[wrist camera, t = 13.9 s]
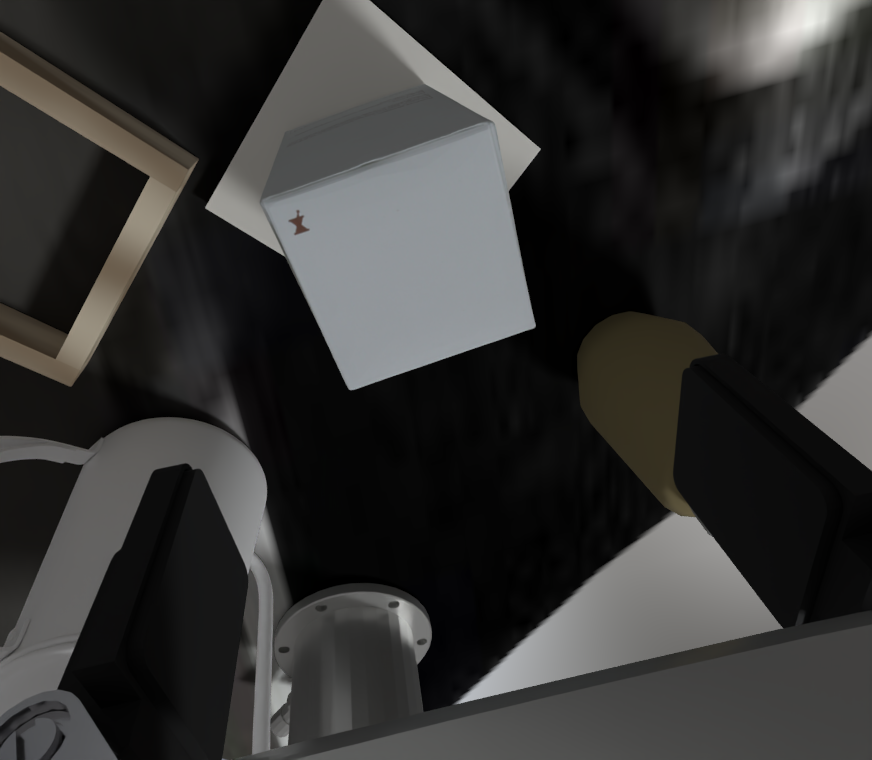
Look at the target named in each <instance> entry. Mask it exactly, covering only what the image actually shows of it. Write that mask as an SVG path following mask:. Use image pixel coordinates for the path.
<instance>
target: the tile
mask: <svg viewBox="0 0 872 760" xmlns="http://www.w3.org/2000/svg"><path fill="white" fill-rule="evenodd" d="M422 84H426V85H428V86H430V87H431V88H433V89H435V90H437V91H438V92H440V93H442V94H444V95H446V96H447V97H449V98H451V99H453V100H454V101H456V102H458V103H460V104H461V105H463V106H465V107H467V108H469V109H470V110H472V111H474V112H476V113H477V114H479V115H481V116H483V117H485V118H487V119H489V120H491V121H493V122H494V124H495V126H496V130H497V136H498V141H499V146H500V151H501V156H502V161H503V166H504V171H505V176H506V181H507V187H508V191H509V190H510V189H511V187H512V186H513V185H514V183H515V182H516V181H517V179H518V178H519V177H520V176H521V174H522V173H523V172H524V170H525V169H526V168H527V166H528V165H529V164H530V162H531V161H532V160H533V159H534V157H535V156H536V155H537V153H538V152H539V151H540V148H539V147H538V146H536V145H535V144H534V143H533V142H532V141H531V140H530V139H528V138H527V137H526V136H525V135H524V134H523V133H521V132H520V131H519V130H518V129H517V128H516V127H515V126H513V125H512V124H511V123H510V122H509V121H508V120H507V119H505V118H504V117H503V116H502V115H501V114H500V113H498V112H497V111H496V110H495V109H494V108H493V107H492V106H490V105H489V104H488V103H487V102H486V101H485V100H484V99H482V98H481V97H480V96H479V95H478V94H477V93H475V92H474V91H473V90H472V89H471V88H470V87H469V86H467V85H466V84H465V83H464V82H463V81H462V80H461V79H459V78H458V77H457V76H456V75H455V74H454V73H452V72H451V71H450V70H449V69H448V68H447V67H446V66H444V65H443V64H442V63H441V62H440V61H439V60H437V59H436V58H435V57H434V56H433V55H432V54H431V53H429V52H428V51H427V50H426V49H425V48H424V47H423V46H421V45H420V44H419V43H418V42H417V41H416V40H414V39H413V38H412V37H411V36H410V35H409V34H408V33H406V32H405V31H404V30H403V29H402V28H401V27H400V26H398V25H397V24H396V23H395V22H394V21H393V20H391V19H390V18H389V17H388V16H387V15H386V14H385V13H383V12H382V11H381V10H380V9H379V8H378V7H377V6H375V5H374V4H373V3H372V2H371V1H370V0H323V1H322V2H321V4H320V6H319V8H318V9H317V11H316V13H315V15H314V16H313V18H312V20H311V22H310V24H309V25H308V27H307V29H306V31H305V32H304V34H303V36H302V38H301V39H300V41H299V43H298V45H297V46H296V48H295V50H294V52H293V54H292V55H291V57H290V59H289V61H288V62H287V64H286V66H285V68H284V69H283V71H282V73H281V75H280V77H279V78H278V80H277V82H276V84H275V85H274V87H273V89H272V91H271V92H270V94H269V96H268V98H267V100H266V101H265V103H264V105H263V107H262V108H261V110H260V112H259V114H258V115H257V117H256V119H255V121H254V122H253V124H252V126H251V128H250V130H249V131H248V133H247V135H246V137H245V138H244V140H243V142H242V144H241V145H240V147H239V149H238V151H237V153H236V154H235V156H234V158H233V160H232V161H231V163H230V165H229V167H228V168H227V170H226V172H225V174H224V176H223V177H222V179H221V181H220V183H219V184H218V186H217V188H216V190H215V191H214V193H213V195H212V197H211V198H210V200H209V202H208V204H207V206H206V207H205V208H206V209H208V210H209V211H211V212H213V213H214V214H216V215H217V216H219V217H221V218H222V219H224V220H226V221H227V222H229V223H231V224H232V225H234V226H236V227H237V228H239V229H241V230H242V231H244V232H245V233H247V234H249V235H250V236H252V237H254V238H255V239H257V240H259V241H260V242H262V243H264V244H265V245H267V246H268V247H270V248H272V249H273V250H275V251H277V252H278V253H280V254H282V255H283V256H285V255H284V253H283V251H282V249H281V247H280V245H279V243H278V240H277V238H276V236H275V234H274V232H273V230H272V228H271V226H270V224H269V222H268V220H267V218H266V216H265V214H264V212H263V209H262V207H261V205H260V199H261V196H262V193H263V190H264V188H265V185H266V182H267V180H268V177H269V174H270V172H271V169H272V166H273V163H274V161H275V158H276V155H277V153H278V150H279V147H280V145H281V142H282V139H283V137H284V134H285V132H286V131H289V130H292V129H295V128H297V127H300V126H303V125H306V124H308V123H311V122H314V121H317V120H320V119H322V118H325V117H328V116H331V115H334V114H336V113H339V112H342V111H345V110H348V109H350V108H353V107H356V106H359V105H362V104H364V103H367V102H370V101H373V100H376V99H379V98H382V97H385V96H387V95H390V94H393V93H396V92H399V91H402V90H405V89H409V88H412V87H415V86H418V85H422Z"/></svg>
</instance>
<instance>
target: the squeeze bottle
mask: <svg viewBox="0 0 872 760" xmlns="http://www.w3.org/2000/svg"><path fill="white" fill-rule="evenodd" d="M716 354H718V353H717V352H716V351H715V350H714V349H713V348H712V346H711V345H710V344H709V343H708V342H707V341H706V340H705V338H704V337H703V336H702V335H700V334H699V333H698V332H697V331H695V330H694V329H693V328H691V327H690V326H689V325H687V324H686V323H684V322H680V321H675V320H671V319H666V318H662V317H658V316H653V315H649V314H644V313H638V312H632V311H629V312H624V313H619V314H615V315H612V316H610V317H608V318H606V319H605V320H603V321H601V322H600V323H598V324H596V325H595V326H594V327H593V329H592V330H591V331H590V332H589V333H588V334H587V335H586V337H585V338H584V339H583V341H582V344H581V346H580V349H579V351H578V354H577V371H578V382H579V394H580V406H581V407H582V409H583V411H584V412H585V414H586V416H587V418H588V419H589V421H590V423H591V424H592V425H593V426H594V427H595V428H596V430H597V431H598V432H599V433H600V434H601V435H602V436H603V437H604V439H605V440H606V441H607V442H608V443H609V444H610V445H611V447H612V448H613V449H614V450H615V451H616V452H617V453H618V454H619V456H620V457H621V458H622V459H623V460H624V461H625V462H626V464H627V465H628V466H629V467H630V468H631V469H632V470H633V471H634V473H635V474H636V475H637V476H638V477H639V478H640V479H641V481H642V482H643V483H644V484H645V485H646V486H647V487H648V489H649V490H650V491H651V492H652V493H653V494H654V495H655V496H656V498H657V499H658V500H659V501H660V502H661V503H662V504H663V506H664V507H666V508H668V509H669V510H671V511H673V512H675V513H677V514H678V515H680V516H689V517H696V518H697V519H698V520H699V522H700V523H701V525H702V526H703V527H704V529H705V530H706V531H707V533H708V534H709V535H711V533H710V532H709V531H708V529H707V528H706V527H705V526H704V524H703V523H702V522H701V520H700V519H699V518H698V516H697V515H696V514H695V512H694V511H693V510H692V508H691V507H690V506H689V504H688V503H687V502H686V501H685V499H684V498H683V497H682V495H681V494H680V493H679V491H678V490H677V488H676V485H675V483H674V479H673V466H674V456H675V445H676V435H677V424H678V413H679V403H680V392H681V381H682V374H683V371H684V369H686V368H689V367H690V363H691V362H692V360H694V359H697V358H701V357H706V356H711V355H716ZM711 536H712V535H711ZM712 537H713V536H712Z"/></svg>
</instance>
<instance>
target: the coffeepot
mask: <svg viewBox="0 0 872 760" xmlns="http://www.w3.org/2000/svg"><path fill="white" fill-rule="evenodd" d="M24 459H44V460H49V461H54V462H58V463H64V462H68V463H72V464H77V465H81V464H84V465H83V467H82V469H81V472H80V474H79V477H78V479H77V481H76V484H75V486H74V488H73V491H72V493H71V496H70V498H69V500H68V503H67V505H66V507H65V510H64V512H63V515H62V517H61V519H60V522H59V524H58V527H57V529H56V531H55V534H54V536H53V538H52V541H51V543H50V546H49V548H48V550H47V553H46V555H45V557H44V560H43V562H42V565H41V567H40V569H39V572H38V574H37V576H36V579H35V581H34V584H33V586H32V588H31V591H30V593H29V596H28V598H27V600H26V603H25V605H24V607H23V610H22V612H21V615H20V617H19V619H18V622H17V624H16V626H15V628H14V629H13V630H12V631H11V632H10V633H9V635H8V637H7V640H6V642H5V644H4V646H3V647H0V717H1V716H2V715H3V714H4V713H5V712H6V711H7V710H9V709H10V708H12V707H14V706H15V705H17V704H18V703H20V702H22V701H23V700H25V699H27V698H29V697H32V696H34V695H37V694H39V693H42V692H46V691H53V690H57V688H58V686H59V683H60V681H61V679H62V676H63V674H64V671H65V669H66V667H67V664H68V662H69V659H70V657H71V655H72V652H73V650H74V648H75V645H76V643H77V640H78V638H79V636H80V633H81V631H82V628H83V626H84V624H85V621H86V619H87V616H88V614H89V612H90V609H91V607H92V604H93V602H94V600H95V597H96V595H97V592H98V590H99V588H100V585H101V583H102V580H103V578H104V576H105V573H106V571H107V569H108V566H109V564H110V561H111V559H112V558H113V556H114V554H115V553H116V552H118V551H119V550H120V549H121V548H122V545H123V543H124V540H125V538H126V535H127V533H128V530H129V528H130V525H131V523H132V521H133V518H134V516H135V513H136V511H137V508H138V506H139V503H140V501H141V498H142V496H143V494H144V491H145V489H146V486H147V484H148V481H149V479H150V476H151V474H152V472H153V471H154V470H156V469H160V468H165V467H169V466H174V465H179V464H184V463H187V464H189V465H190V466H191V467H192V469H193V470H194V469H201V470H202V471H203V473H204V475H205V477H206V479H207V482H208V484H209V486H210V488H211V490H212V493H213V495H214V497H215V499H216V501H217V504H218V506H219V508H220V510H221V512H222V515H223V517H224V519H225V521H226V523H227V526H228V528H229V530H230V532H231V535H232V537H233V539H234V541H235V543H236V546H237V548H238V550H239V552H240V554H241V557H242V559H243V561H244V563H245V566H246V569H247V573H249V569H250V570H251V571H252V573H253V575H254V577H255V579H256V582H257V586H258V593H259V616H258V637H257V658H256V679H255V699H254V719H253V745H252V755H253V754H257V753H261V752H265V751H268V750H270V715H271V678H272V639H273V590H272V584H271V579H270V576H269V573H268V571H267V569H266V567H265V565H264V563H263V562H262V560H261V559H260V558H259V557H258V556H257V554H256V553H255V552H254V549H255V545H256V541H257V537H258V533H259V529H260V525H261V521H262V517H263V513H264V509H265V505H266V498H267V484H266V479H265V475H264V472H263V470H262V467H261V465H260V463H259V462H258V460H257V458H256V457H255V455H254V454H253V453H252V452H251V450H250V449H249V448H248V447H247V446H246V445H245V444H244V443H242V442H241V441H240V440H239V439H237V438H236V437H235V436H233V435H231V434H230V433H228V432H226V431H224V430H222V429H220V428H218V427H216V426H213V425H211V424H208V423H205V422H201V421H197V420H193V419H187V418H178V417H159V418H150V419H145V420H140V421H136V422H133V423H130V424H128V425H125V426H123V427H121V428H119V429H117V430H115V431H114V432H112V433H110V434H109V435H107V436H106V437H105V438H102V437H101V438H100V439H99V440H98V441H97V442H96V443H95V444H94V445H93V446H92V447H91V448H89V450H88V449H84V448H80V447H76V446H72V445H69V444H65V443H60V442H56V441H51V440H46V439H40V438H33V437H20V436H0V463H3V462H8V461H15V460H24Z"/></svg>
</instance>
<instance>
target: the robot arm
mask: <svg viewBox="0 0 872 760" xmlns="http://www.w3.org/2000/svg"><path fill="white" fill-rule="evenodd" d="M673 479H674V483H675V485H676V488H677V490H678V491H679V493H680V494H681V495H682V497H683V498H684V499H685V501H686V502H687V503H688V504H689V506H690V507H691V508H692V510H693V511H694V512H695V514H696V515H697V516H698V518H699V519H700V520H701V522H702V523H703V524H704V526H705V527H706V528H707V529H708V531H709V532H710V533H711V535H712V536H713V537H714V538H715V540H716V541H717V543H718V544H719V545H720V547H721V548H722V549H723V550H724V552H725V553H726V554H727V556H728V557H729V558H730V560H731V561H732V562H733V564H734V565H735V566H736V568H737V569H738V570H739V571H740V572H741V574H742V575H743V577H744V578H745V579H746V581H747V582H748V583H749V585H750V586H751V587H752V589H753V590H754V591H755V592H756V594H757V595H758V596H759V598H760V599H761V600H762V602H763V603H764V604H765V606H766V607H767V608H768V609H769V611H770V612H771V613H772V615H773V616H774V617H775V619H776V620H777V621H778V623H779V624H780V625H781V626H782V627H783V629H779V630H774V631H770V632H765V633H761V634H756V635H752V636H748V637H744V638H739V639H735V640H730V641H726V642H722V643H717V644H713V645H709V646H704V647H700V648H696V649H692V650H687V651H683V652H679V653H674V654H669V655H666V656H661V657H657V658H652V659H648V660H643V661H639V662H635V663H630V664H627V665H622V666H618V667H613V668H609V669H605V670H601V671H596V672H592V673H588V674H584V675H579V676H575V677H571V678H566V679H562V680H558V681H554V682H549V683H545V684H541V685H537V686H532V687H528V688H524V689H520V690H516V691H511V692H507V693H503V694H499V695H494V696H490V697H486V698H482V699H477V700H473V701H469V702H465V703H461V704H456V705H452V706H448V707H444V708H440V709H436V710H431V711H427V712H423V706H422V699H421V692H420V684H419V677H418V669H417V664H418V663H419V662H420V661H421V659H422V658H423V657H424V656H425V654H426V652H427V650H428V649H429V646H430V642H431V639H432V633H431V625H430V620H429V615H428V613H427V612H426V610H425V608H424V606H423V605H422V604H421V603H420V602H419V601H418V600H417V599H416V598H414V597H413V596H411V595H410V594H408V593H406V592H404V591H402V590H399V589H397V588H394V587H390V586H386V585H382V584H373V583H350V584H344V585H338V586H334V587H330V588H327V589H324V590H320V591H318V592H316V593H314V594H312V595H310V596H307V597H306V598H304V599H303V600H301V601H299V602H298V603H296V604H295V605H294V606H293V607H292V608H291V609H290V610H288V611H287V612H286V613H285V615H284V616H283V618H282V619H281V620H280V622H279V624H278V626H277V629H276V632H275V639H274V656H275V659H276V661H277V663H278V665H279V667H280V668H281V669H282V670H283V672H284V673H285V674H287V675H288V676H289V677H291V678H292V688H291V692H290V693H289V695H288V698H287V703H285V704H284V705H283V706H282V707H281V708H280V709H279V710H278V711H277V712H276V713H275V714H274V715H273V717H272V718H271V720H270V727H271V730H272V732H273V733H274V734H275V735H276V736H279V737H285V736H287V735H288V734H289V739H288V746H284V747H280V748H276V749H272V750H268V751H265V752H261V753H257V754H253V755H249V756H245V757H241V758H238V759H234V760H872V471H871V470H870V469H868V468H867V467H866V466H865V465H863V464H862V463H861V462H860V461H859V460H857V459H856V458H855V457H854V456H852V455H851V454H850V453H849V452H847V451H846V450H845V449H843V448H842V447H841V446H840V445H839V444H837V443H836V442H835V441H834V440H833V439H831V438H830V437H829V436H828V435H826V434H825V433H824V432H823V431H821V430H820V429H819V428H818V427H816V426H815V425H814V424H813V423H811V422H810V421H809V420H808V419H806V418H805V417H804V416H803V415H801V414H800V413H799V412H798V411H797V410H795V409H794V408H793V407H792V406H790V405H789V404H788V403H787V402H785V401H784V400H783V399H782V398H780V397H779V396H778V395H777V394H776V393H774V392H773V391H772V390H771V389H769V388H768V387H767V386H766V385H764V384H763V383H762V382H761V381H759V380H758V379H757V378H756V377H754V376H753V375H752V374H751V373H750V372H748V371H747V370H746V369H745V368H743V367H742V366H741V365H740V364H738V363H737V362H736V361H735V360H733V359H732V358H731V357H730V356H728V355H726V354H722V353H721V354H716V355H711V356H706V357H701V358H697V359H694V360H692V362H691V363H690V367H689V368H686V369H684V371H683V374H682V381H681V392H680V403H679V413H678V424H677V435H676V445H675V456H674V466H673ZM247 589H248V573H247V569H246V566H245V563H244V561H243V559H242V557H241V554H240V552H239V550H238V548H237V546H236V543H235V541H234V539H233V537H232V535H231V532H230V530H229V528H228V526H227V523H226V521H225V519H224V517H223V515H222V512H221V510H220V508H219V506H218V504H217V501H216V499H215V497H214V495H213V493H212V490H211V488H210V486H209V484H208V482H207V479H206V477H205V475H204V473H203V471H202V470H201V469H194V470H193V469H192V467H191V466H190V465H189V464H187V463H184V464H179V465H174V466H169V467H165V468H160V469H156V470H154V471H153V472H152V474H151V476H150V479H149V481H148V484H147V486H146V489H145V491H144V494H143V496H142V498H141V501H140V503H139V506H138V508H137V511H136V513H135V516H134V518H133V521H132V523H131V525H130V528H129V530H128V533H127V535H126V538H125V540H124V543H123V545H122V548H121V549H120V550H119V551H118V552H116V553H115V554H114V556H113V558H112V559H111V561H110V564H109V566H108V569H107V571H106V573H105V576H104V578H103V580H102V583H101V585H100V588H99V590H98V592H97V595H96V597H95V600H94V602H93V604H92V607H91V609H90V612H89V614H88V616H87V619H86V621H85V624H84V626H83V628H82V631H81V633H80V636H79V638H78V640H77V643H76V645H75V648H74V650H73V652H72V655H71V657H70V659H69V662H68V664H67V667H66V669H65V671H64V674H63V676H62V679H61V681H60V683H59V686H58V688H57V690H53V691H46V692H42V693H39V694H37V695H34V696H32V697H29V698H27V699H25V700H23V701H22V702H20V703H18V704H17V705H15V706H14V707H12V708H10V709H9V710H7V711H6V712H5V713H4V714H3V715H2V716H1V717H0V760H222V755H223V749H224V742H225V736H226V729H227V722H228V716H229V709H230V702H231V696H232V689H233V682H234V676H235V669H236V662H237V656H238V649H239V642H240V636H241V629H242V622H243V616H244V609H245V602H246V596H247Z"/></svg>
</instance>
